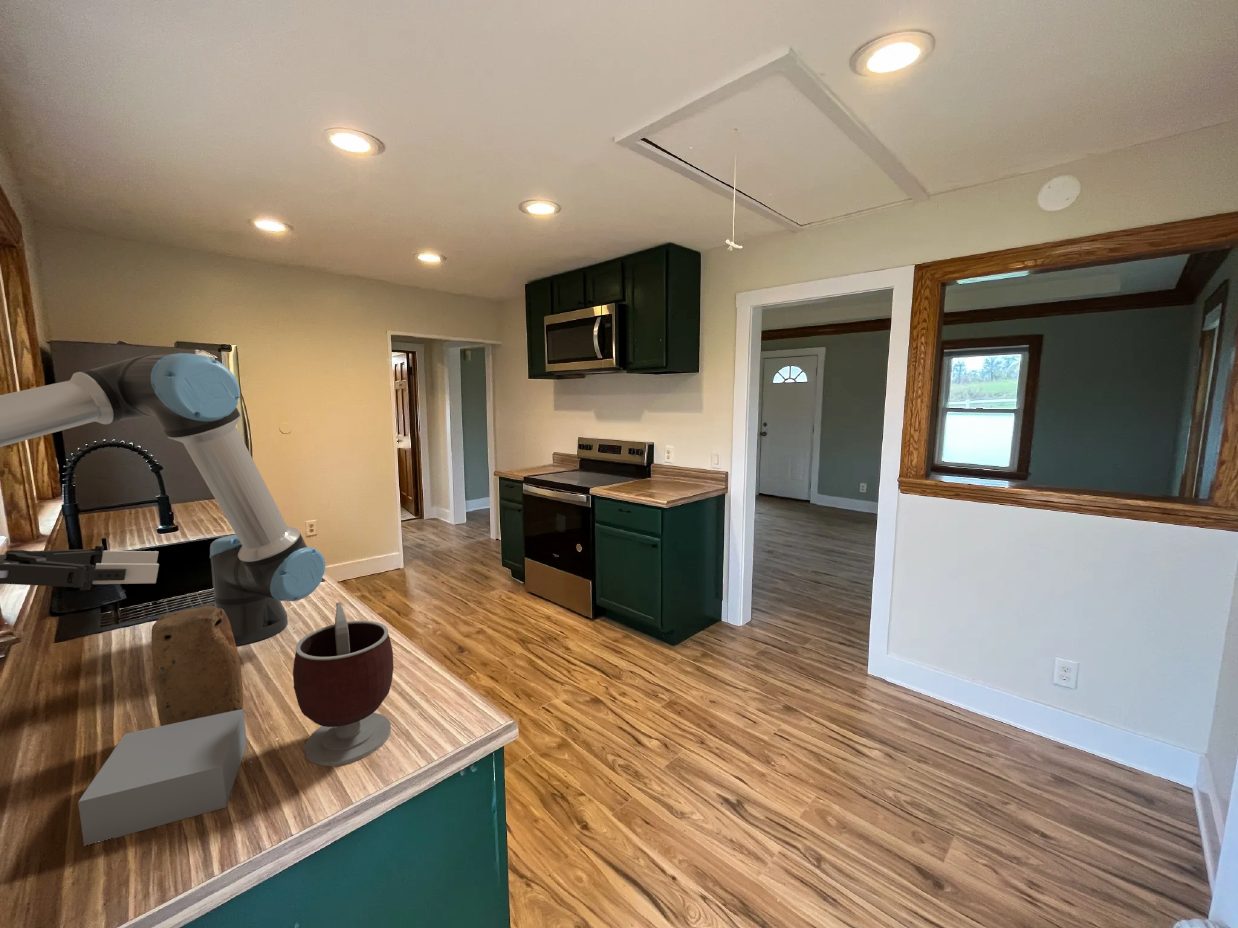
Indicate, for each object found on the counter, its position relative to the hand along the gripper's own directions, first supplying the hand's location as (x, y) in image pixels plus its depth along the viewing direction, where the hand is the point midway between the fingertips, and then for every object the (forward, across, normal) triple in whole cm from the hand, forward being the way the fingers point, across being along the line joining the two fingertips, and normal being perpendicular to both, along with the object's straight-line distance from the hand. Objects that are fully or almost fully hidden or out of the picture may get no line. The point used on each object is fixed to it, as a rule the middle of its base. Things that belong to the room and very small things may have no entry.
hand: (157, 566), depth 80 cm
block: (+10, -2, -27) cm, 29 cm away
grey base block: (+6, +13, -29) cm, 32 cm away
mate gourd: (+27, +16, -25) cm, 40 cm away
